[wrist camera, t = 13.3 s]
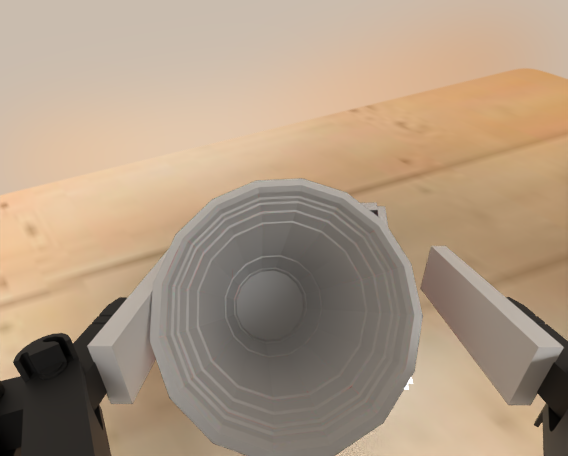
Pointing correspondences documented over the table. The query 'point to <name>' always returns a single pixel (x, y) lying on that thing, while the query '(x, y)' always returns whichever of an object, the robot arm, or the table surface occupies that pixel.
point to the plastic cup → (285, 319)
